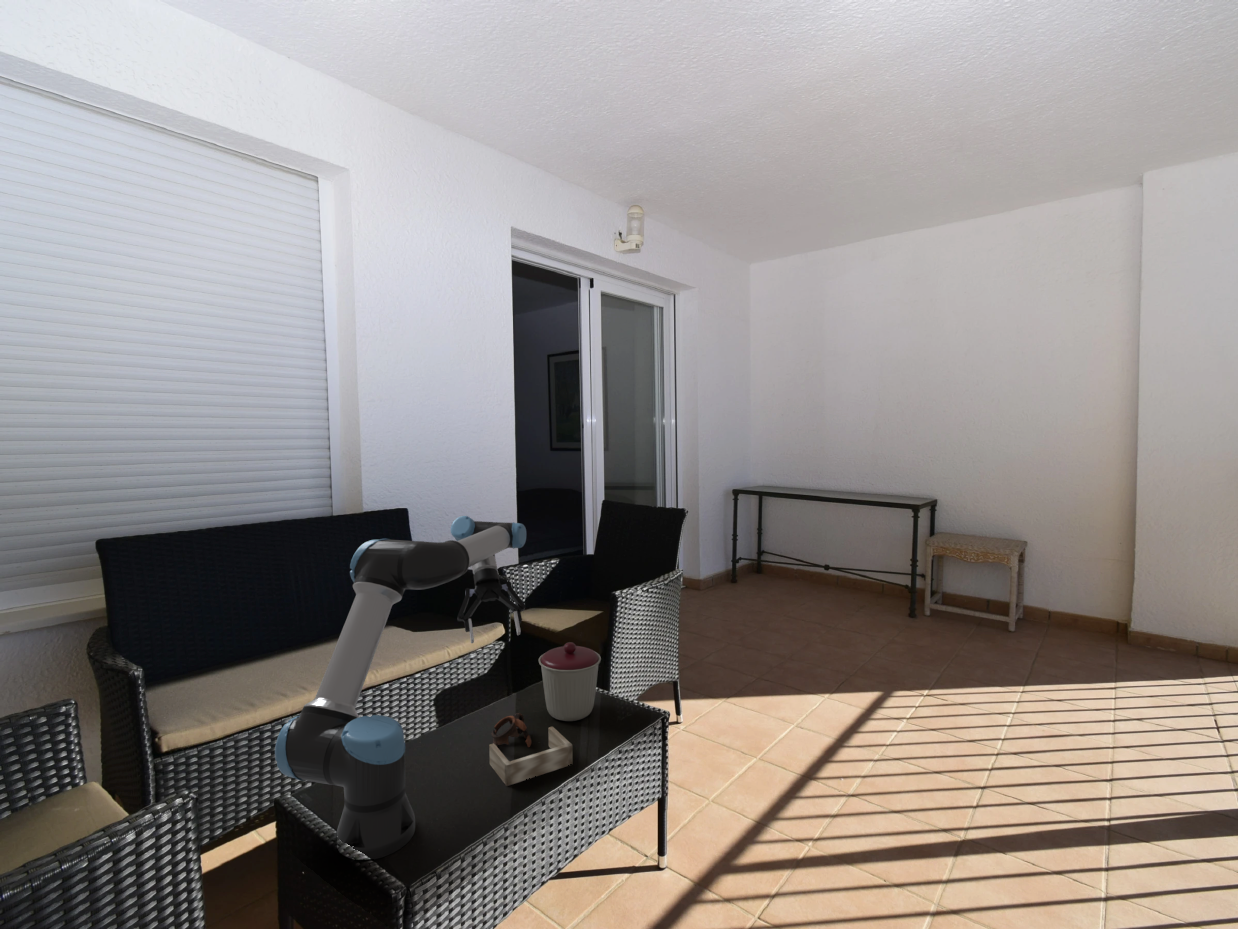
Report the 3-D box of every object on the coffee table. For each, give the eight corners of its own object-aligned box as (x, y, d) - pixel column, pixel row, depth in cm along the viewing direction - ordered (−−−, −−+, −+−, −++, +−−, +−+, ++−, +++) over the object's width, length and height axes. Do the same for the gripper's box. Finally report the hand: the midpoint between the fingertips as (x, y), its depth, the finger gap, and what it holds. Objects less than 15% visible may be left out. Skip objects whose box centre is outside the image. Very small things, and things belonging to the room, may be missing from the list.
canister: (564, 735, 169) (563, 659, 167) (526, 712, 182) (526, 642, 181) (613, 714, 181) (613, 643, 179) (575, 694, 194) (574, 628, 193)
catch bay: (506, 786, 145) (506, 765, 144) (489, 764, 154) (489, 744, 154) (572, 764, 154) (572, 745, 154) (552, 744, 163) (552, 726, 163)
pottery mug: (530, 755, 159) (514, 731, 157) (499, 767, 161) (483, 744, 159) (539, 722, 171) (523, 699, 169) (510, 734, 172) (494, 712, 170)
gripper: (523, 572, 200) (536, 634, 189) (444, 583, 192) (452, 649, 181) (526, 561, 194) (539, 625, 183) (444, 572, 186) (452, 640, 175)
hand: (496, 637), depth 182 cm, fingers open, 13 cm apart
